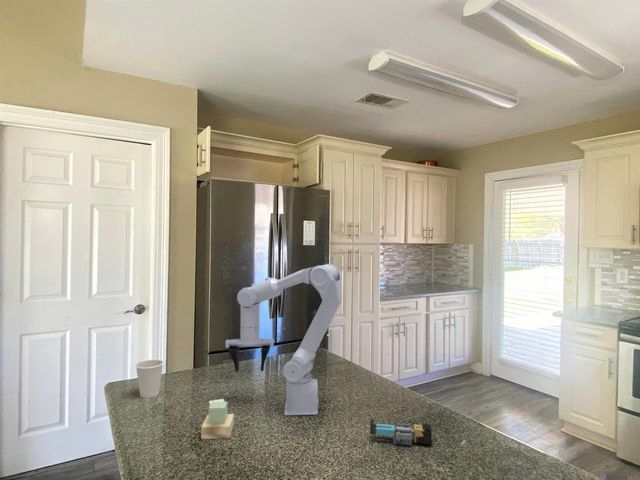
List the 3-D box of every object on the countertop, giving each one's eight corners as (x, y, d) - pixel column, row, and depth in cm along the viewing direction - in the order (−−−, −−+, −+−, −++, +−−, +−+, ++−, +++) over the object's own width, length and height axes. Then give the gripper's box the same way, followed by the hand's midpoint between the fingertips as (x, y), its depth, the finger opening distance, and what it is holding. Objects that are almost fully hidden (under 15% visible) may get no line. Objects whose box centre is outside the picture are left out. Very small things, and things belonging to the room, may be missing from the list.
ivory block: (223, 412, 112) (223, 398, 112) (225, 418, 108) (225, 404, 108) (209, 415, 110) (209, 401, 110) (211, 421, 106) (211, 406, 106)
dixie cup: (164, 388, 130) (164, 358, 130) (162, 397, 122) (162, 366, 122) (137, 390, 127) (137, 360, 127) (133, 401, 119) (133, 368, 119)
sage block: (227, 416, 102) (227, 401, 102) (224, 423, 98) (224, 408, 98) (212, 416, 102) (212, 401, 102) (208, 424, 98) (208, 408, 98)
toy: (370, 416, 100) (430, 420, 98) (370, 433, 100) (430, 438, 98) (370, 426, 94) (433, 431, 92) (370, 445, 94) (433, 450, 92)
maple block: (233, 425, 104) (233, 413, 104) (229, 438, 97) (229, 426, 97) (207, 425, 103) (207, 414, 103) (201, 439, 96) (201, 427, 96)
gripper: (274, 323, 123) (274, 365, 123) (228, 323, 122) (228, 366, 122) (273, 328, 116) (272, 373, 116) (224, 328, 115) (224, 373, 115)
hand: (249, 370), depth 119 cm, fingers open, 7 cm apart
